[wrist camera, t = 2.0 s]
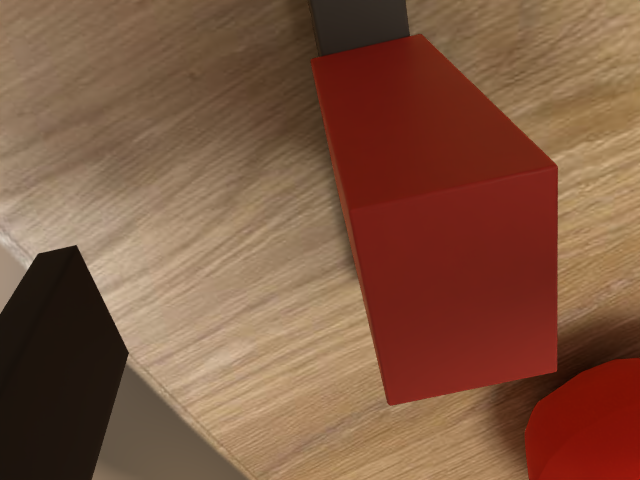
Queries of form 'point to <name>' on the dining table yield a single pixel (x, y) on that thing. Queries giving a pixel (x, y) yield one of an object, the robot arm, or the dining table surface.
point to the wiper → (436, 208)
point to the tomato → (588, 426)
